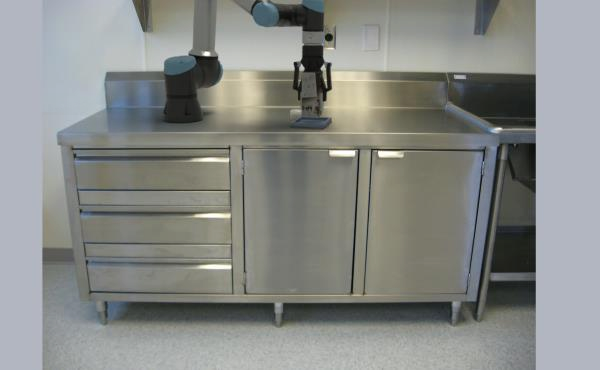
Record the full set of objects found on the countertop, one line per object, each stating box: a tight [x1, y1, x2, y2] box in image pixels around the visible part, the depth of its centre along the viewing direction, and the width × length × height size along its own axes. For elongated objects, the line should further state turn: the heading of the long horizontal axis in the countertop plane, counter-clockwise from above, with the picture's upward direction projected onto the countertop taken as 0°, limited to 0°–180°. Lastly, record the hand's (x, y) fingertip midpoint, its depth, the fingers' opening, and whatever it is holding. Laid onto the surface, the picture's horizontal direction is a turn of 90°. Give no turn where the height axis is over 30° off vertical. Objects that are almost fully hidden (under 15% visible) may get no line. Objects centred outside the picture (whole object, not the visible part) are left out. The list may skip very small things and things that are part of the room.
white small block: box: [289, 108, 302, 121], centre depth 194 cm, size 6×6×4 cm
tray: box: [290, 116, 333, 130], centre depth 184 cm, size 12×14×2 cm
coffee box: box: [301, 69, 324, 118], centre depth 180 cm, size 9×6×16 cm
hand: (312, 109), depth 182 cm, fingers closed on coffee box, 7 cm apart
